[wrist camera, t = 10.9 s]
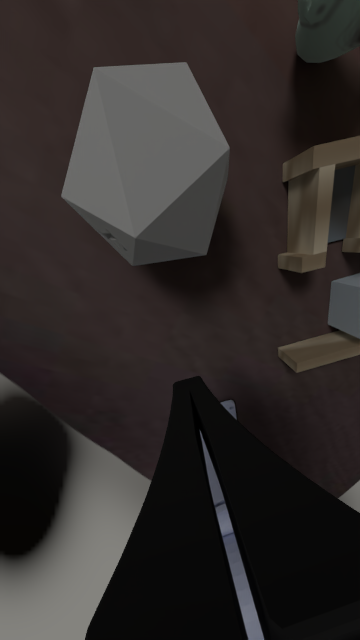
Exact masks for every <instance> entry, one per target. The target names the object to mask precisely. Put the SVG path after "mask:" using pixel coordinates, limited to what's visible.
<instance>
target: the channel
mask: <svg viewBox="0 0 360 640" xmlns="http://www.w3.org/2000/svg"><path fill="white" fill-rule="evenodd" d="M287 181H289V184H288V238H287V253H283V254H279V255H278V268H280V269H285V270H290V271H295V272H299V273H303V272H307V271H311V270H315V269H319V268H323V267H325V262H326V252H327V243H329V242H333V241H337V240H341V239H343V246H342V252H356V253H360V136H356V137H352V138H347V139H343V140H338V141H334V142H329V143H325V144H320V145H316V146H313V147H311V148H309V149H308V150H306V151H304V152H303V153H301V154H299V155H297V156H296V157H294V158H292V159H290V160H289V161H287V162H285V163H283V182H287ZM356 355H360V339H359V338H357V337H354V336H352V335H350V334H348V333H346V332H344V331H341V330H339V331H336V332H332V333H329V334H325V335H321V336H318V337H314V338H311V339H307V340H304V341H300V342H296V343H293V344H289V345H286V346H282V347H279V348H278V357H279V358H281V359H282V360H283V361H284V362H285V363H286V364H287V365H288V366H290V367H291V368H292V369H293V370H294V371H295V372H296V373H297V372H301V371H304V370H308V369H311V368H315V367H318V366H322V365H325V364H329V363H332V362H335V361H339V360H342V359H346V358H349V357H353V356H356Z"/></svg>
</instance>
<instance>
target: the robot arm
mask: <svg viewBox="0 0 360 640" xmlns="http://www.w3.org/2000/svg"><path fill="white" fill-rule="evenodd" d="M85 640H360V513H359V512H357V511H356V510H354V509H352V508H351V507H349V506H348V505H346V504H345V503H343V502H342V501H340V500H339V499H337V498H336V497H334V496H333V495H331V494H330V493H328V492H327V491H326V490H324V489H323V488H321V487H320V486H318V485H317V484H316V483H314V482H313V481H311V480H310V479H308V478H307V477H306V476H304V475H303V474H302V473H300V472H299V471H298V470H296V469H295V468H294V467H292V466H291V465H290V464H288V463H287V462H286V461H284V460H283V459H282V458H280V457H279V456H278V455H276V454H275V453H274V452H273V451H271V450H270V449H269V448H268V447H266V446H265V445H264V444H263V443H262V442H260V441H259V440H258V439H257V438H256V437H255V436H253V435H252V434H251V433H250V432H249V431H248V430H247V429H246V428H245V427H244V426H242V425H241V424H240V423H239V422H238V421H237V417H236V410H235V403H234V401H233V400H228V401H224V402H221V403H220V402H219V401H218V400H217V399H216V397H215V396H214V395H213V394H212V392H211V391H210V390H209V389H208V387H207V386H206V385H205V383H204V382H203V380H202V378H201V377H200V376H196V377H192V378H189V379H185V380H182V381H178V382H175V383H174V384H173V397H172V405H171V411H170V417H169V422H168V427H167V431H166V435H165V439H164V443H163V447H162V450H161V454H160V457H159V460H158V464H157V467H156V470H155V473H154V476H153V479H152V481H151V484H150V487H149V490H148V493H147V496H146V498H145V501H144V503H143V506H142V508H141V511H140V513H139V516H138V518H137V521H136V523H135V526H134V528H133V530H132V532H131V535H130V537H129V540H128V542H127V544H126V547H125V549H124V551H123V554H122V556H121V558H120V560H119V563H118V565H117V567H116V569H115V571H114V574H113V575H112V578H111V580H110V582H109V584H108V586H107V588H106V590H105V592H104V594H103V597H102V599H101V601H100V603H99V605H98V607H97V609H96V611H95V614H94V616H93V618H92V620H91V622H90V625H89V627H88V630H87V633H86V637H85Z"/></svg>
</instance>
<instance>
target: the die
mask: <svg viewBox="0 0 360 640" xmlns="http://www.w3.org/2000/svg"><path fill="white" fill-rule="evenodd" d="M229 152H230V147H229V146H228V144H227V142H226V140H225V138H224V136H223V134H222V132H221V130H220V128H219V126H218V124H217V122H216V120H215V118H214V116H213V114H212V112H211V110H210V108H209V106H208V104H207V102H206V100H205V98H204V96H203V94H202V92H201V90H200V88H199V86H198V84H197V83H196V81H195V79H194V77H193V75H192V73H191V71H190V69H189V67H188V65H187V63H186V62H183V63H165V64H147V65H129V66H110V67H94V69H93V73H92V77H91V80H90V84H89V88H88V92H87V96H86V100H85V104H84V108H83V112H82V116H81V120H80V124H79V128H78V132H77V136H76V140H75V144H74V148H73V152H72V156H71V160H70V164H69V168H68V172H67V176H66V180H65V183H64V187H63V191H62V195H61V197H62V198H63V199H64V200H65V201H66V202H67V203H68V204H69V205H70V206H71V207H72V208H74V209H75V210H76V211H77V212H78V213H79V214H80V215H81V216H82V217H83V218H84V219H85V220H86V221H87V222H88V223H89V224H90V225H91V226H92V227H93V228H94V229H95V230H96V231H97V232H98V233H99V234H100V235H101V236H102V237H103V238H104V239H105V240H106V241H107V242H108V243H109V244H110V245H111V246H112V247H114V248H115V249H116V250H117V251H118V252H119V253H120V254H121V255H122V256H123V257H124V258H125V259H126V260H127V261H128V262H129V263H130V264H131V265H132V266H137V265H143V264H150V263H157V262H163V261H170V260H176V259H183V258H190V257H196V256H203V255H207V251H208V248H209V244H210V240H211V237H212V233H213V229H214V226H215V222H216V219H217V215H218V211H219V208H220V204H221V200H222V197H223V193H224V190H225V186H226V182H227V179H228V166H229Z"/></svg>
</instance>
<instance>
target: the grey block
mask: <svg viewBox="0 0 360 640" xmlns="http://www.w3.org/2000/svg"><path fill="white" fill-rule="evenodd" d="M328 325H331V326H333V327H335V328H337V329H339V330H341V331H344V332H346V333H348V334H350V335H352V336H354V337H357V338H359V339H360V273H358V274H355V275H351V276H348V277H345V278H341V279H338V280H334V281H332V284H331V294H330V305H329V316H328Z"/></svg>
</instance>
